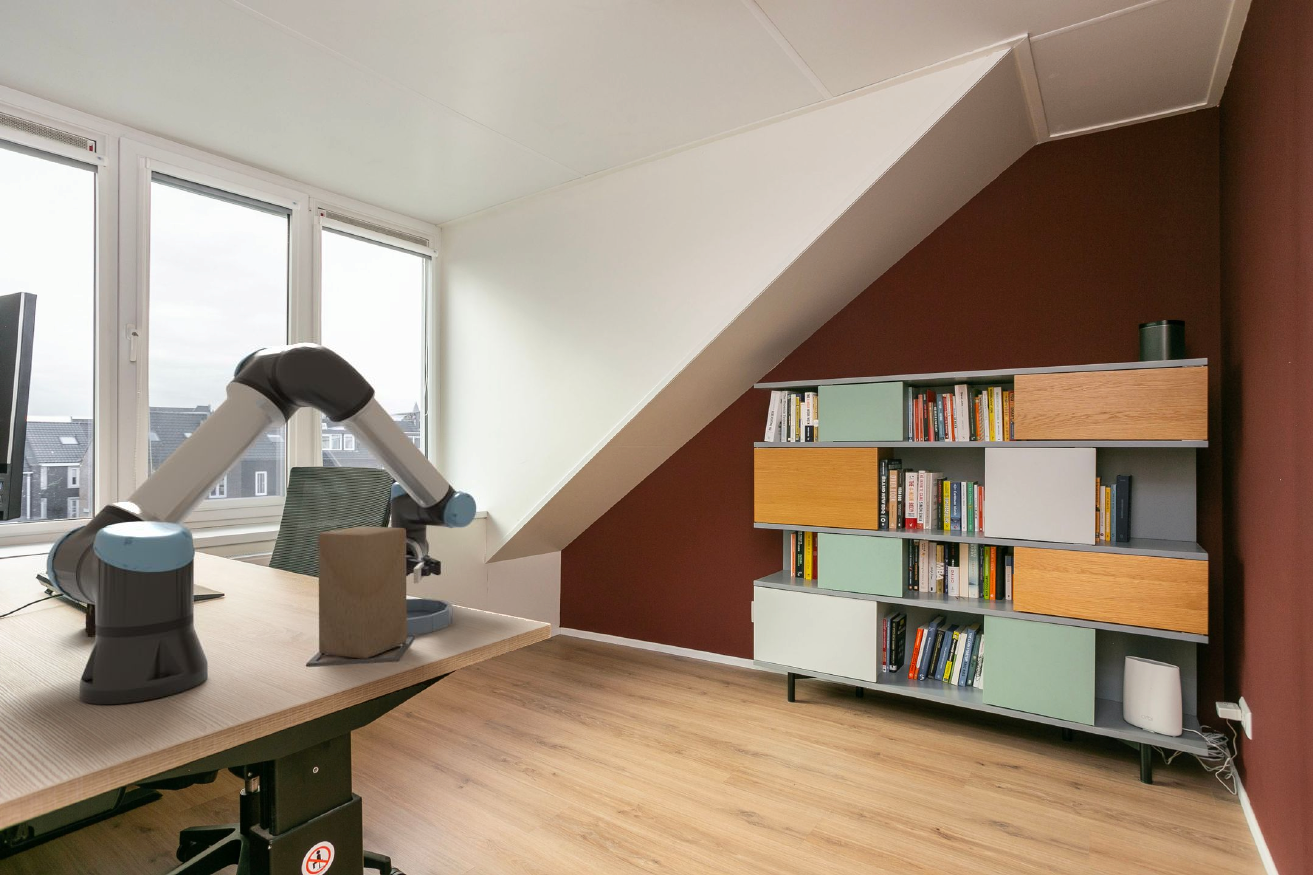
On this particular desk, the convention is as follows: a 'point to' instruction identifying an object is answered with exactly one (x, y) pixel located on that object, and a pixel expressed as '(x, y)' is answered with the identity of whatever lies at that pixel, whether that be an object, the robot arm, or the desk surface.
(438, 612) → the dish
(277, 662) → the desk surface
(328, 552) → the wooden block
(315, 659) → the dark grey square frame
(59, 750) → the desk surface
